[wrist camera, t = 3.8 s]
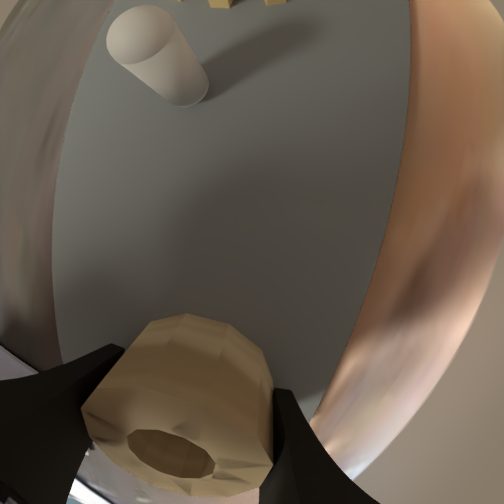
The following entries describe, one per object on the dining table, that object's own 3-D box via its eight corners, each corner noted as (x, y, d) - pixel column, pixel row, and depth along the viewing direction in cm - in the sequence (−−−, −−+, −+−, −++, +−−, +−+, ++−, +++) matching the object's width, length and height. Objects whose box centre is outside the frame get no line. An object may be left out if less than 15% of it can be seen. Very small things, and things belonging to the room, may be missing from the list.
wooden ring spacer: (134, 402, 10) (99, 463, 6) (133, 297, 9) (69, 355, 5) (252, 434, 10) (246, 506, 6) (288, 335, 9) (297, 421, 5)
